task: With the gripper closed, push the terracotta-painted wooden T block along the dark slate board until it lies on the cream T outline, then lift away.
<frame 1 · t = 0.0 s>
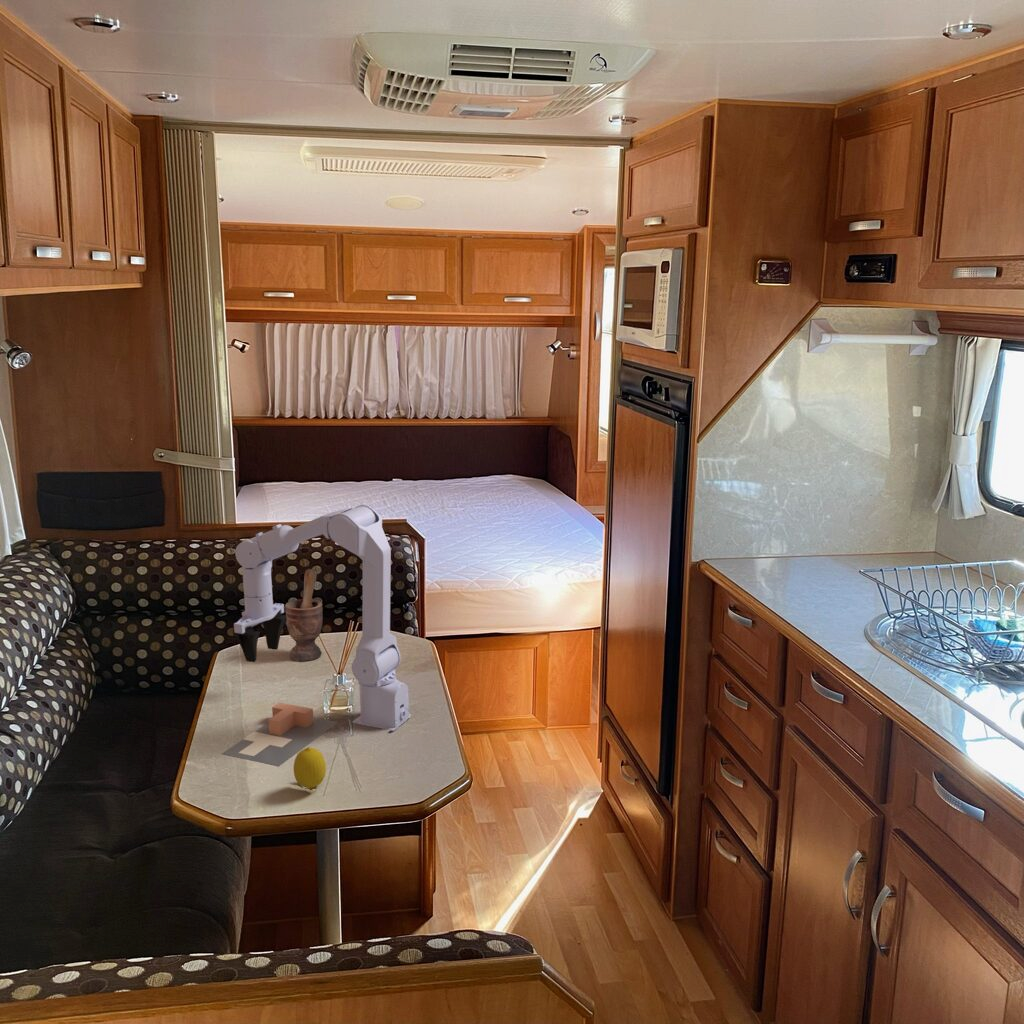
hand: (262, 654, 206), 10 cm above the table, fingers open, 7 cm apart
mortar and pestle: (306, 654, 235), on the table
t block: (289, 724, 195), point 1 cm above the table, touching slate board
slate board: (281, 740, 190), on the table
lemon: (310, 790, 171), on the table
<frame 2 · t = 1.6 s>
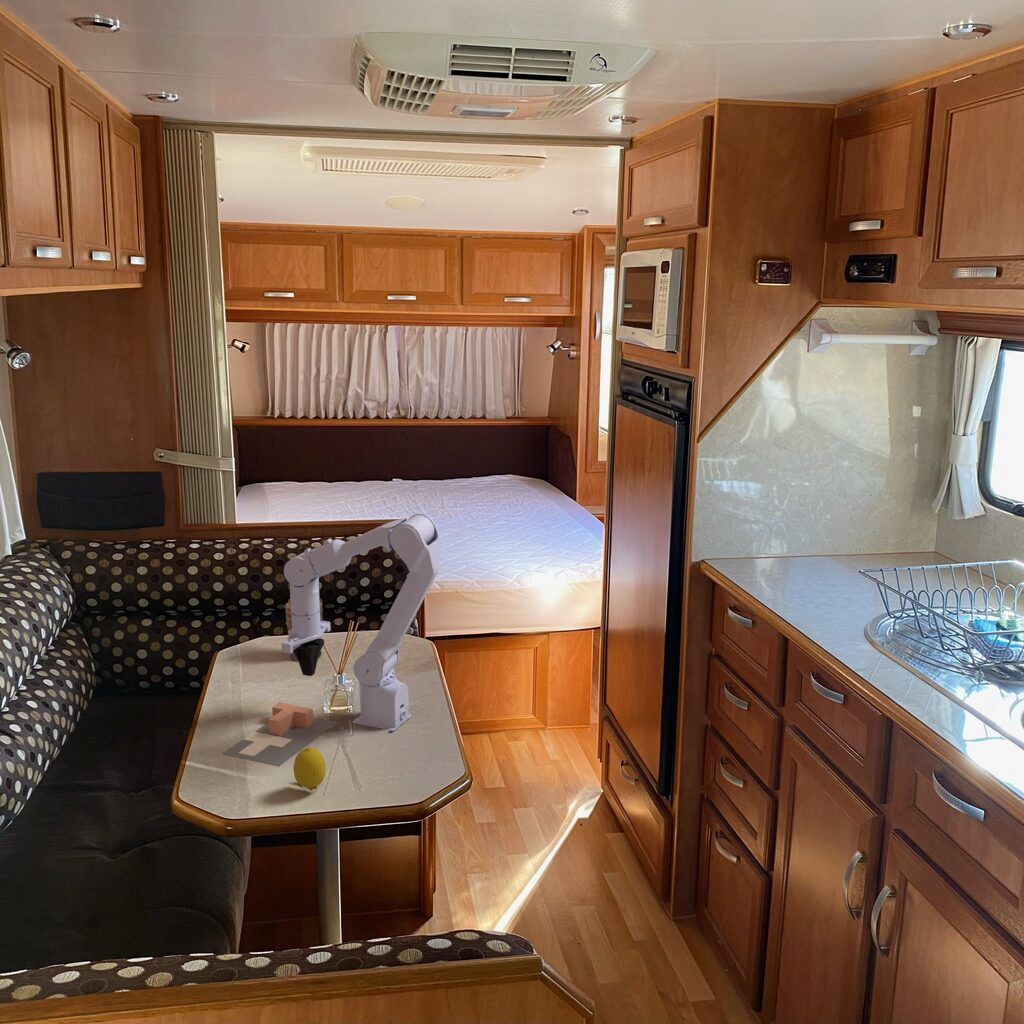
hand: (308, 674, 200), 8 cm above the table, fingers closed
nothing on the table moved.
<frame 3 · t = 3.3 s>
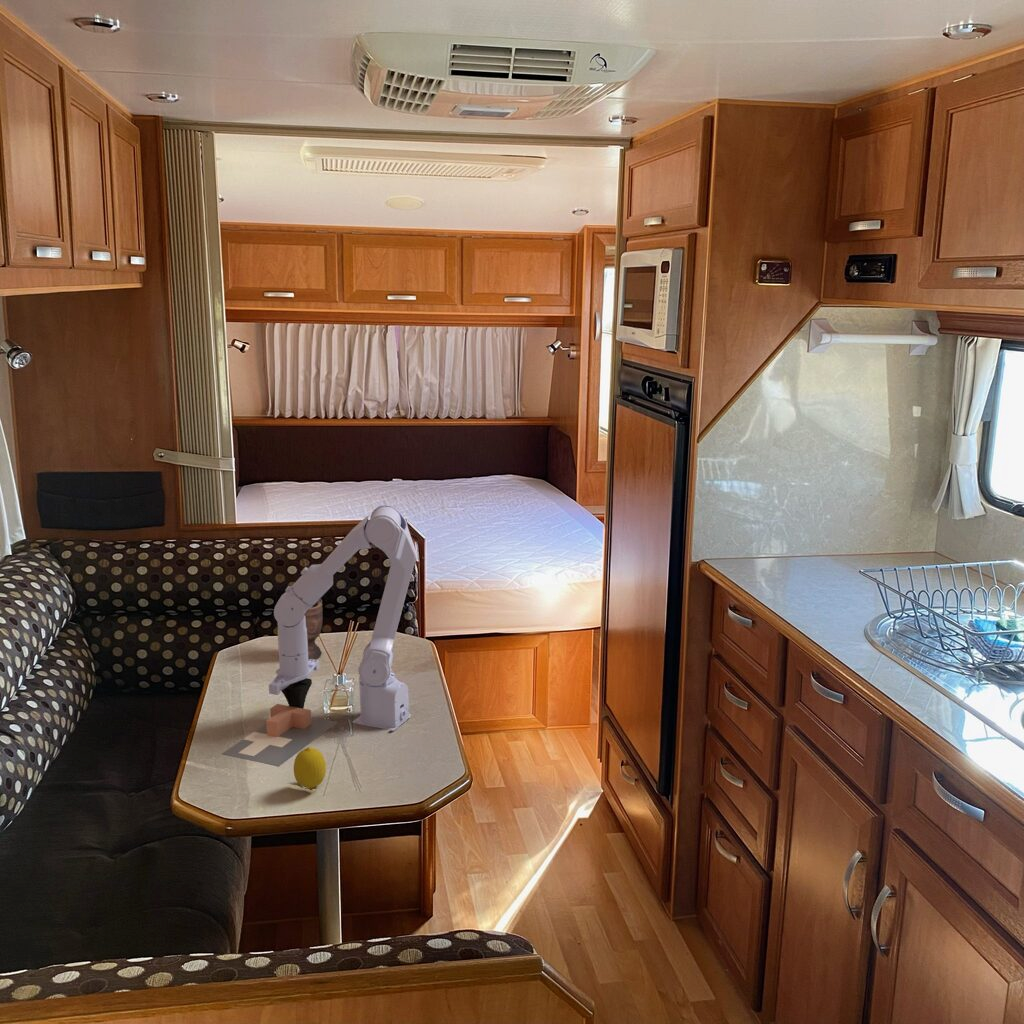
hand: (296, 714, 197), 2 cm above the table, fingers closed
t block: (287, 725, 194), point 1 cm above the table, touching gripper
everything else where it was.
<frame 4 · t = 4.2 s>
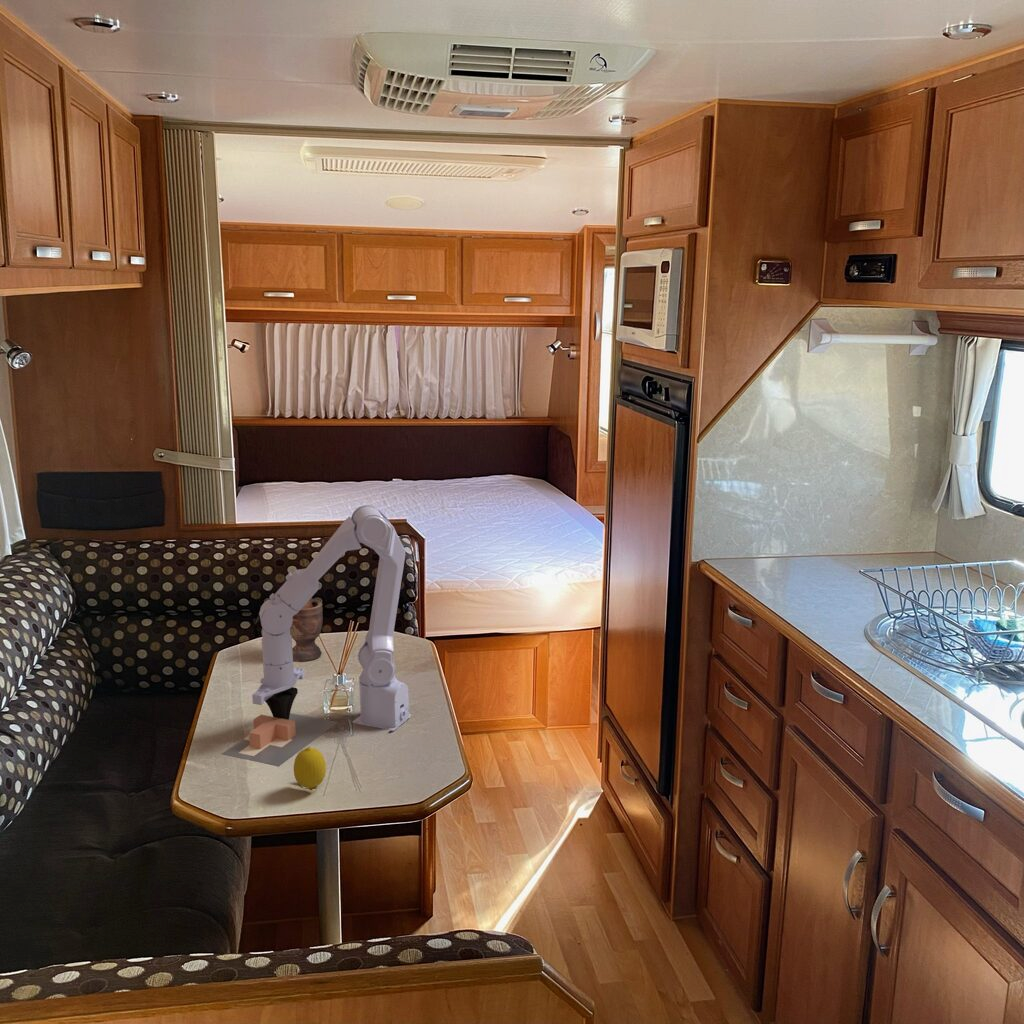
hand: (281, 724, 193), 2 cm above the table, fingers closed
t block: (271, 737, 189), point 1 cm above the table, touching gripper
everything else where it was.
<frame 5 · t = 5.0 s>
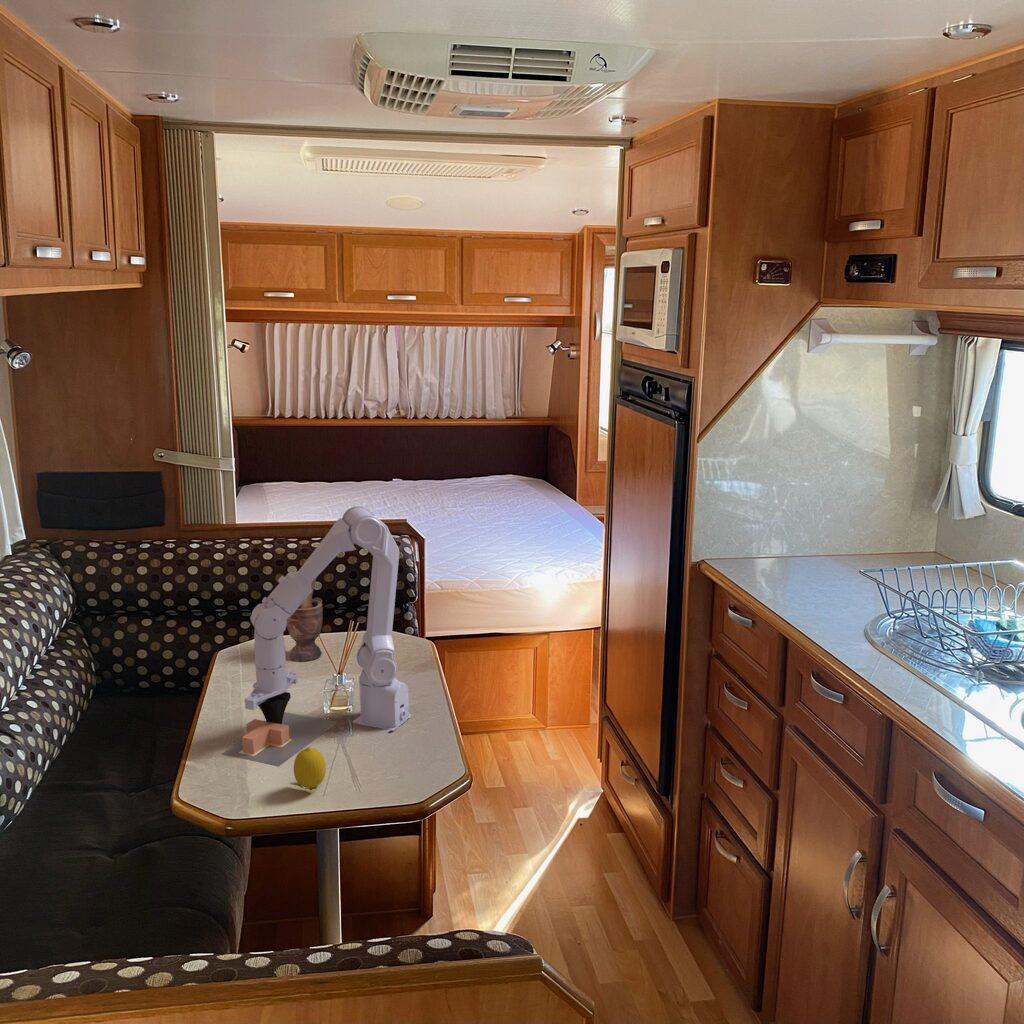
hand: (274, 729, 190), 2 cm above the table, fingers closed
t block: (264, 742, 187), point 1 cm above the table, touching gripper, slate board
everything else where it was.
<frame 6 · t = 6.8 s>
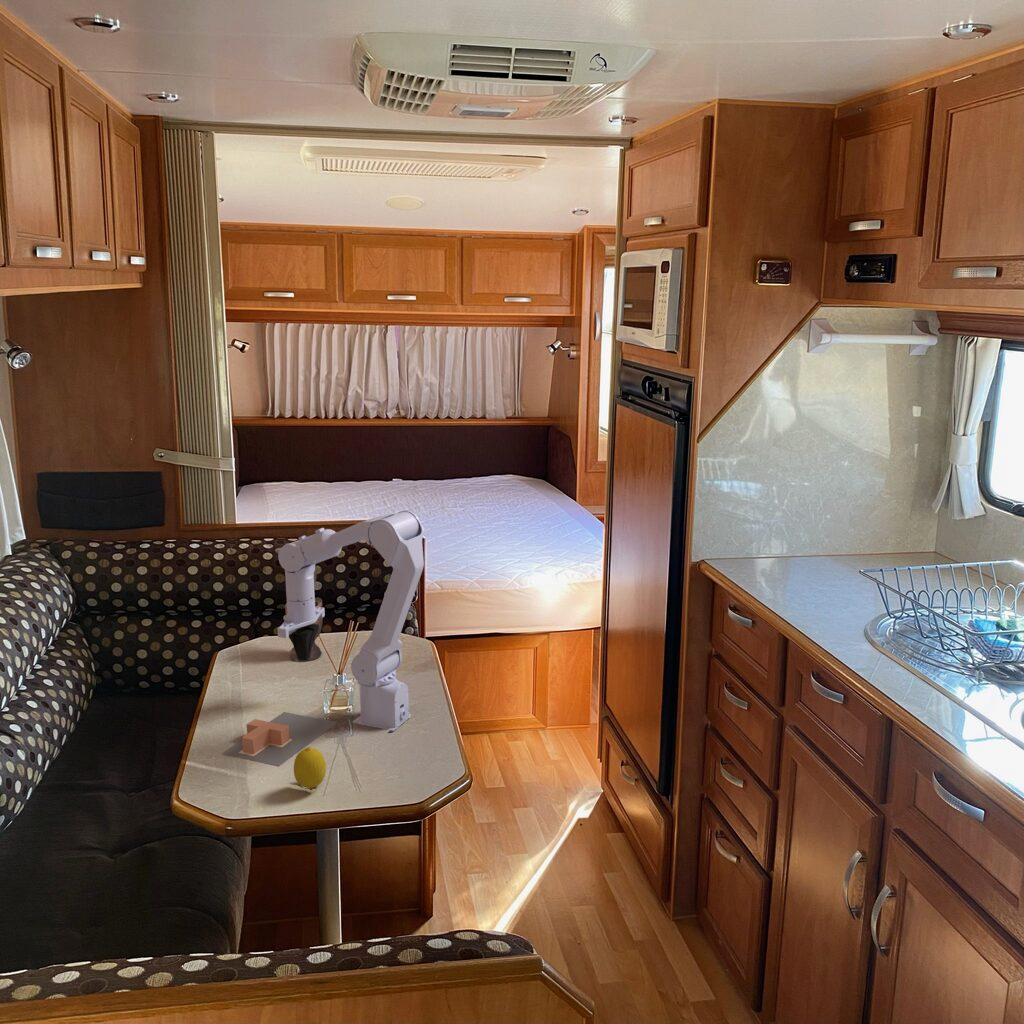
hand: (303, 659, 204), 10 cm above the table, fingers closed
t block: (264, 742, 187), point 1 cm above the table, touching slate board
everything else where it was.
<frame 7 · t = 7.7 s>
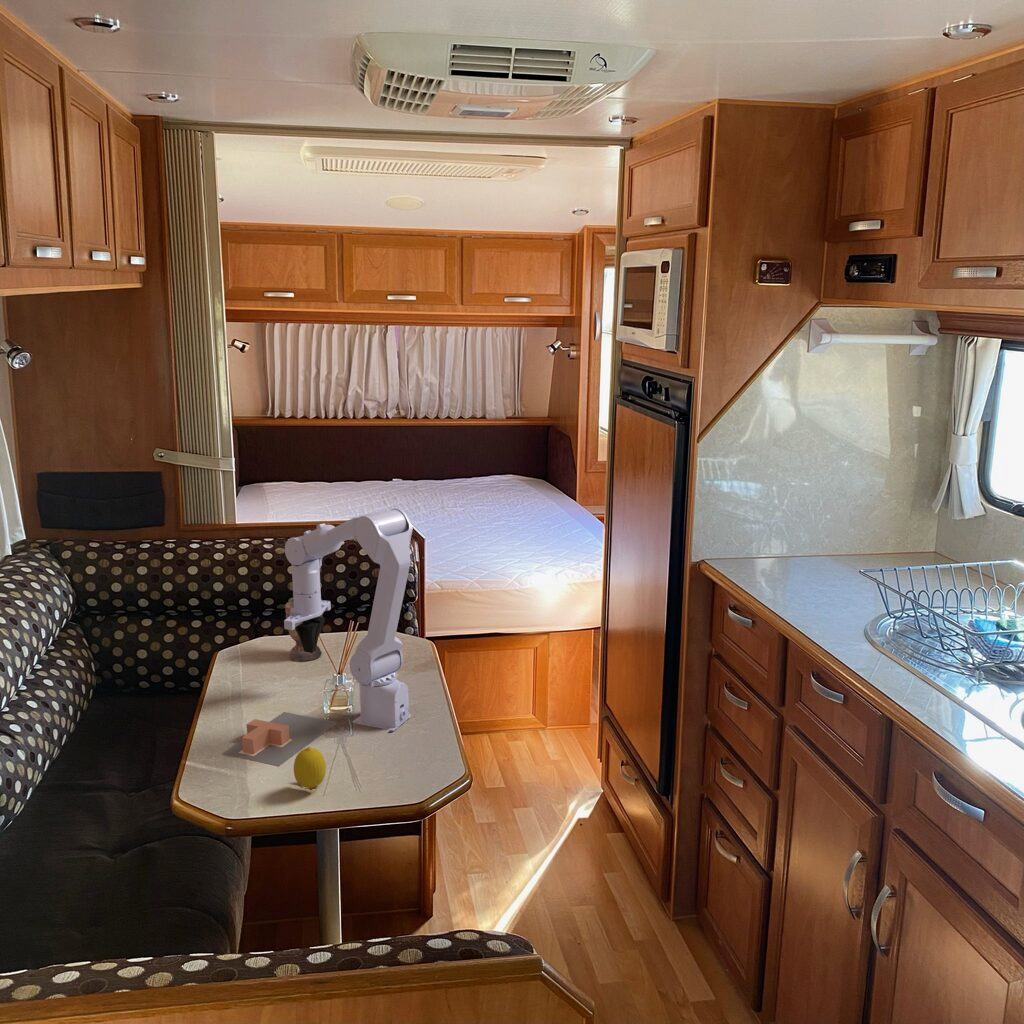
hand: (309, 651, 209), 10 cm above the table, fingers closed
nothing on the table moved.
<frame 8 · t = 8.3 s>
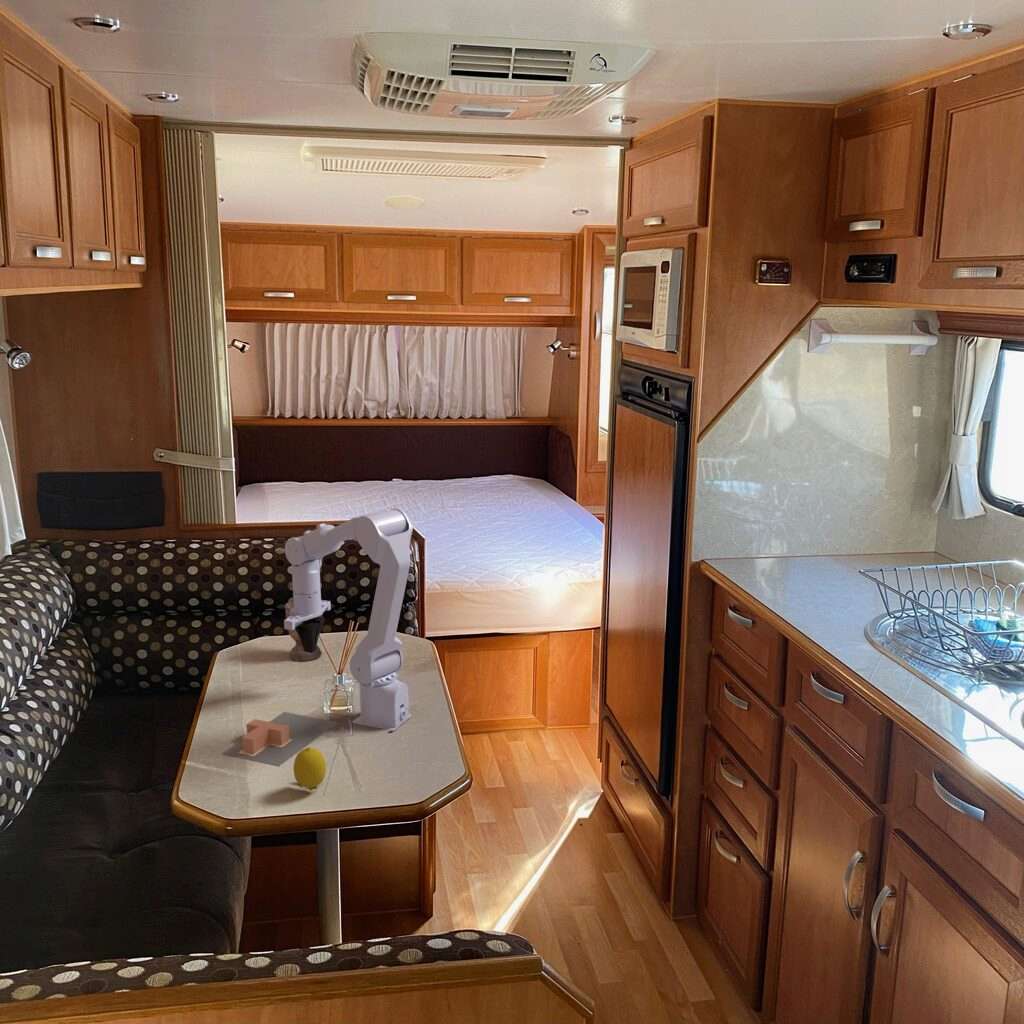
hand: (309, 651, 209), 10 cm above the table, fingers closed
nothing on the table moved.
at the end: t block 0.1 cm from the target spot, point 0.6 cm above the table; t block tilted 0°; t block touching slate board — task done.
